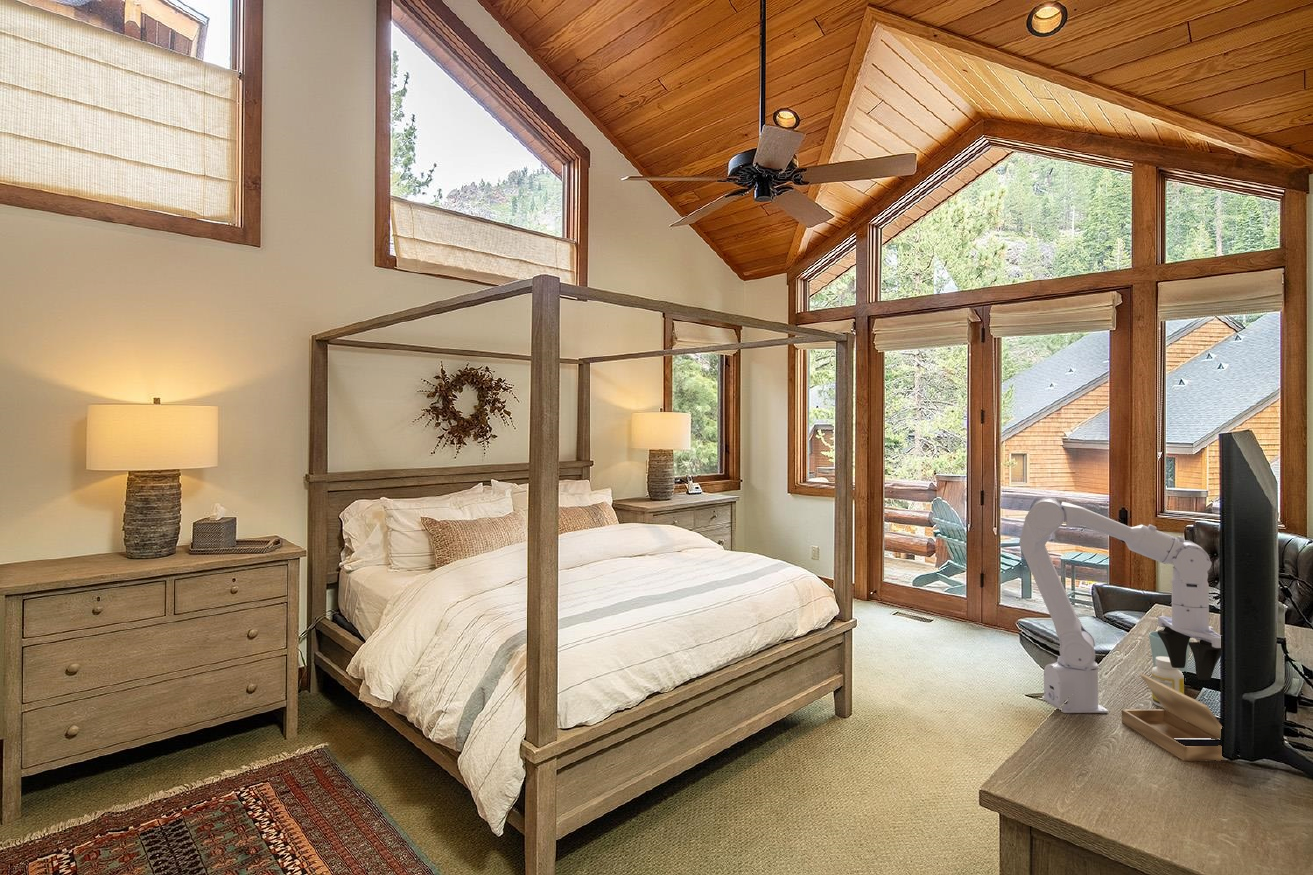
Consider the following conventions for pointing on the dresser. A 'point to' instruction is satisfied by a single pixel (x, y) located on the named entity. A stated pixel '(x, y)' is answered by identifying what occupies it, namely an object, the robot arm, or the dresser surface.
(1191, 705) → the lid flap
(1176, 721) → the carton
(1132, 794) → the dresser surface
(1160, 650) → the cup
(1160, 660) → the supplement bottle
